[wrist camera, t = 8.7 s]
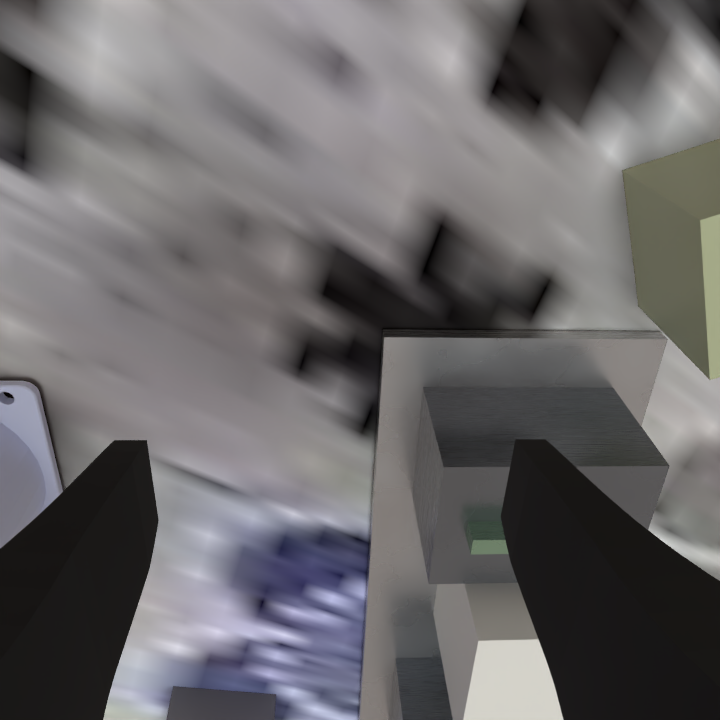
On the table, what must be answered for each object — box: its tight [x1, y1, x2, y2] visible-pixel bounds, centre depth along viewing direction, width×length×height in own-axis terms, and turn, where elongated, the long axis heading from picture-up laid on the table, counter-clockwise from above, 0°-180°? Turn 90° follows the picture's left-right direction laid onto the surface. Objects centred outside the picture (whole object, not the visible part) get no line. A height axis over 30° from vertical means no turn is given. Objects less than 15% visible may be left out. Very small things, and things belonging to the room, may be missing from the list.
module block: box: [433, 583, 563, 720], centre depth 26 cm, size 4×6×6 cm, turn 178°
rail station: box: [358, 329, 669, 720], centre depth 27 cm, size 10×24×6 cm, turn 178°
